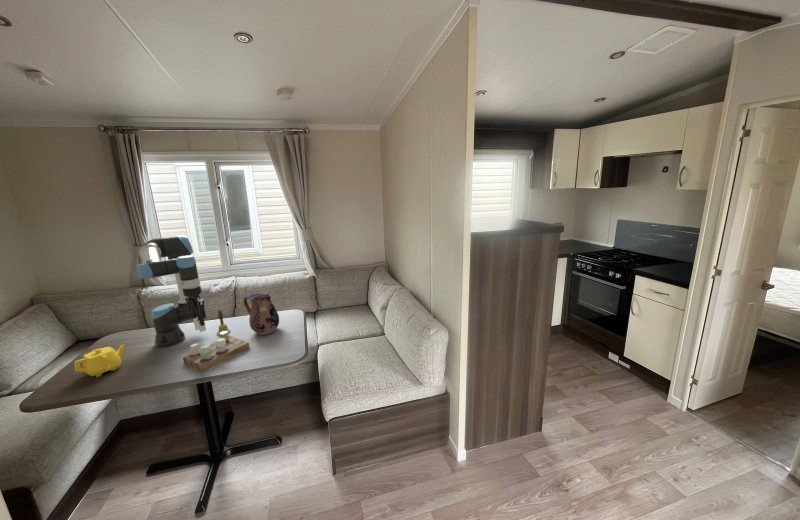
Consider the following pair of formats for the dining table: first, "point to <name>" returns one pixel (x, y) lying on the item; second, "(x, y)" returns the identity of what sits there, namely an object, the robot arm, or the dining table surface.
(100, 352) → the teapot
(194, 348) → the slider ivory
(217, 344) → the button ivory
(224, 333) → the slider aluminium
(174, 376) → the dining table surface
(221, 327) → the hand bell
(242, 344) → the console
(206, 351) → the button sage
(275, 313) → the ceramic pitcher
